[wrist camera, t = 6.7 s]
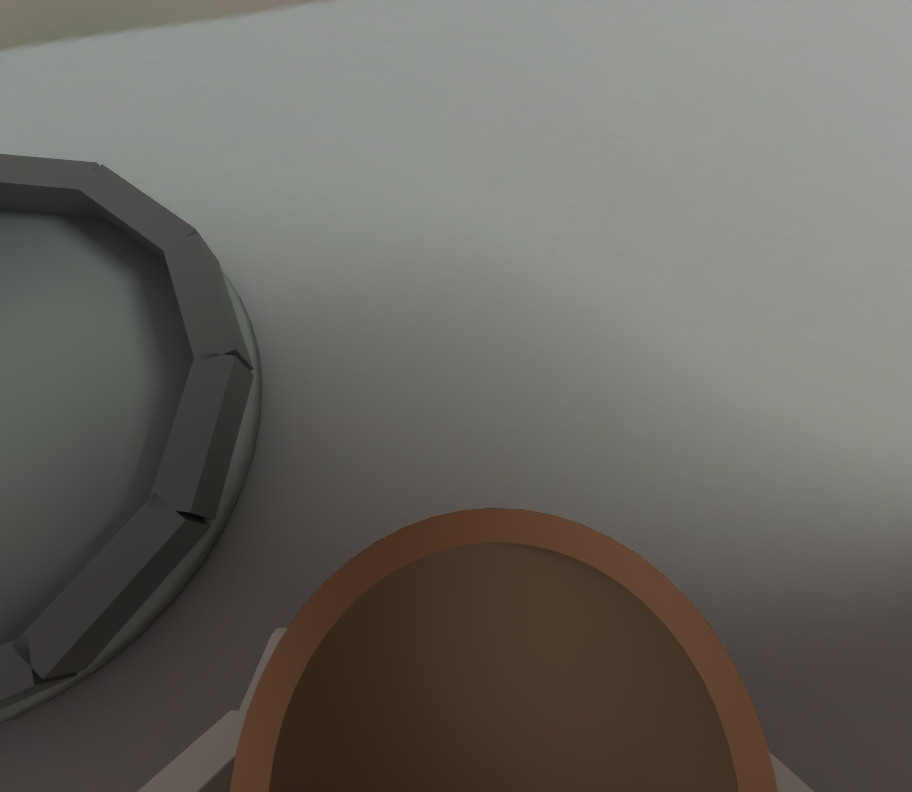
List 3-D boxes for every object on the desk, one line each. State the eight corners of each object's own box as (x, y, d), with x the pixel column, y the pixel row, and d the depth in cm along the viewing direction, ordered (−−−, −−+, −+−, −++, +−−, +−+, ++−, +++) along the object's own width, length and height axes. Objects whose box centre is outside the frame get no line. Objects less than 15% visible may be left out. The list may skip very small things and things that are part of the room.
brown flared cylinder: (517, 527, 16) (606, 437, 7) (607, 718, 14) (907, 971, 5) (346, 605, 15) (170, 631, 6) (418, 819, 13) (332, 1361, 4)
